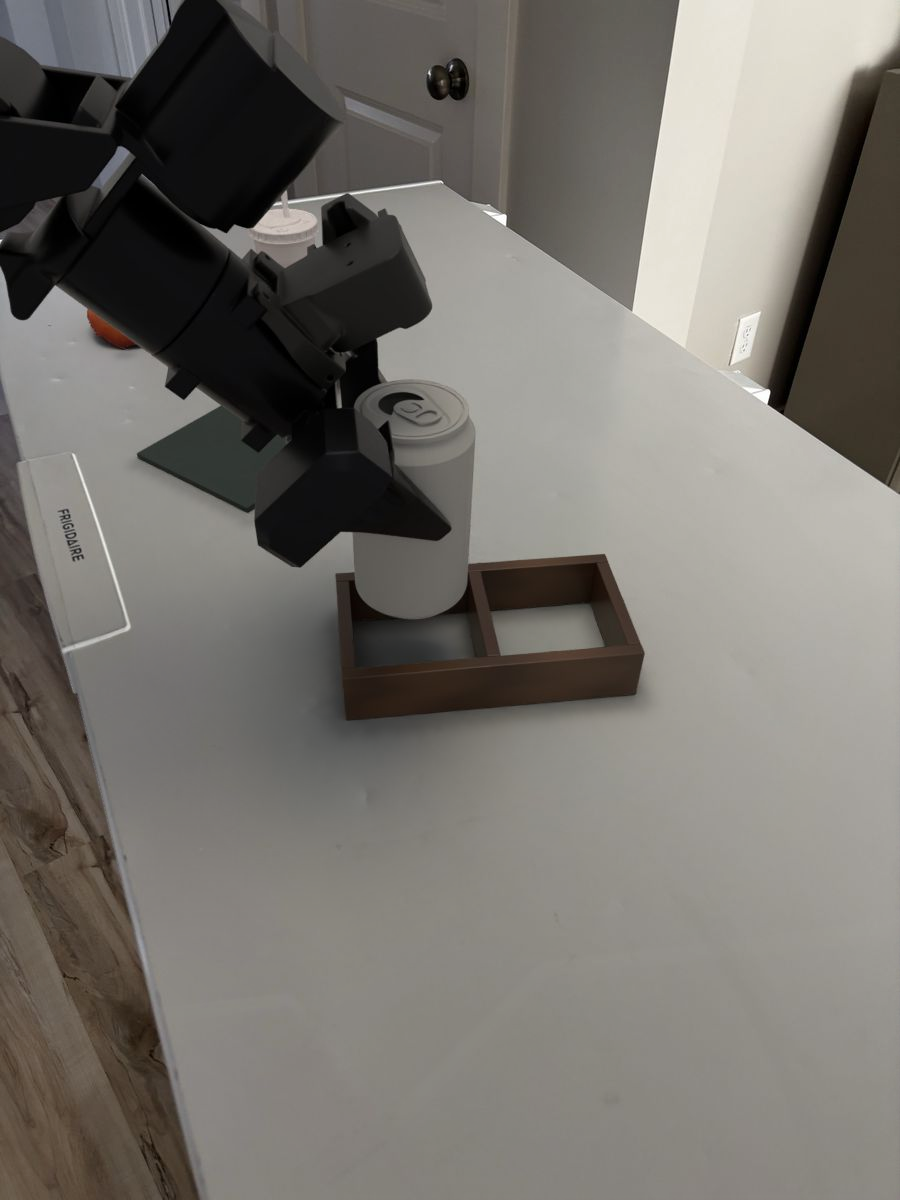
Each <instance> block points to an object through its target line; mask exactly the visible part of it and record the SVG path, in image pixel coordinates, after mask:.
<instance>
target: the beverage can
mask: <svg viewBox="0 0 900 1200" xmlns="http://www.w3.org/2000/svg"><path fill="white" fill-rule="evenodd" d="M354 408H355V409H357V410H358V411H359V412H360V413H362V414H363V415H364V416H365V417H367V418H368V419H369V420H370V421H372V422H373V424H374V425H375V427H376V428H377V429H379V428H380V427H381V426H382V425H383V424H384V423H385V422H386V421H387V420H388V421H389V422H390V426H391V432H392V439H393V445H394V452H395V464H396V465H397V466H398V467H399V468H400V470H401V471H402V472H403V473H404V474H405V475H406V476H407V477H408V478H409V479H410V480H411V481H412V482H413V483H414V484H415V485H416V486H417V487H418V488H419V489H420V490H421V491H422V492H423V493H424V494H425V495H426V497H427V498H428V499H429V500H430V501H431V502H432V503H433V504H434V505H435V506H436V507H437V508H438V509H439V511H440V512H441V513H442V514H443V515H444V516H445V517H446V519H447V520H448V521H449V522H450V523H451V527H452V529H451V531H450V532H449V533H448V534H447V535H446V536H444V537H443V538H442V539H441V540H439V541H430V540H422V539H414V538H405V537H397V536H389V535H380V534H371V533H358V532H351V534H352V550H353V551H352V552H353V567H354V568H353V570H354V571H353V572H355V585H356V589H357V591H358V593H359V595H360V597H361V598H362V599H363V601H364V602H365V603H367V604H368V605H369V606H370V607H372V608H373V609H375V610H377V611H379V612H381V613H383V614H386V615H389V616H393V617H398V618H397V619H404V620H423V619H429V618H432V617H434V616H438V615H437V614H439V613H442V612H444V611H446V610H448V609H449V608H451V607H452V606H454V605H455V604H456V603H457V602H458V601H459V600H460V599H461V597H462V596H463V594H464V592H465V590H466V587H467V578H468V564H469V560H470V559H469V557H470V556H469V555H470V542H471V541H470V540H471V526H472V525H471V523H472V507H473V506H472V505H473V488H474V471H475V470H474V469H475V453H476V452H475V451H476V435H477V431H476V426H475V424H474V422H473V419H471V417H470V406H469V403H468V401H467V399H466V398H465V397H464V396H463V395H462V394H461V393H460V392H458V391H457V390H456V389H454V388H452V387H450V386H448V385H445V384H442V383H440V382H435V381H431V380H425V379H409V378H407V379H398V380H391V381H387V382H385V383H382V384H379V385H376V386H374V387H372V388H370V389H368V390H366V391H365V392H363V393H362V394H361V395H360V396H359V397H358V398H357V400H356V402H355V404H354ZM439 615H440V614H439Z"/></svg>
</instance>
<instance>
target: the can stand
mask: <svg viewBox="0 0 900 1200" xmlns="http://www.w3.org/2000/svg"><path fill="white" fill-rule="evenodd" d="M334 576H335V577H334V578H335V591H336V604H337V605H336V607H337V608H336V609H337V623H338V640H339V657H340V670H341V671H340V672H341V673H340V674H341V685H342V696H343V706H344V707H343V708H344V718H345V720H346V721H351V720H352V721H353V720H364V719H376V718H386V717H387V718H388V717H398V716H408V715H409V716H410V715H420V714H421V715H422V714H430V713H431V714H432V713H441V712H451V711H452V712H453V711H463V710H476V709H486V708H497V707H507V706H508V707H509V706H519V705H521V706H522V705H530V704H540V703H541V704H542V703H552V702H553V703H554V702H563V701H564V702H565V701H573V700H585V699H596V698H607V697H618V696H620V697H621V696H631V695H636V694H637V691H638V687H639V682H640V677H641V673H642V669H643V664H644V659H645V655H646V653H645V650H644V647H643V645H642V642H641V640H640V638H639V635H638V633H637V630H636V628H635V626H634V623H633V620H632V617H631V615H630V612H629V610H628V607H627V605H626V603H625V600H624V598H623V596H622V592H621V591H620V588H619V585H618V583H617V580H616V578H615V575H614V573H613V570H612V568H611V566H610V563H609V560H608V557H607V555H606V554H605V553H598V554H597V553H596V554H585V555H569V556H556V557H555V556H554V557H544V558H543V557H542V558H528V559H515V560H502V561H489V562H488V561H487V562H475V563H474V562H473V563H472V562H471V563H468V578H467V587H466V590H465V592H464V594H463V596H462V597H461V599H460V600H459V601H458V602H457V603H456V604H455V605H454V606H452V607H451V608H449V609H448V610H446V611H444V612H442V613H439V614H437V615H436V616H438V615H450V614H464V613H466V616H467V621H468V625H469V630H470V635H471V640H472V645H473V651H474V655H475V657H470V658H469V657H468V658H459V659H447V660H433V661H422V662H421V661H420V662H411V663H410V662H409V663H399V664H387V665H376V666H373V665H372V666H362V667H356V655H355V642H354V632H353V622H360V621H374V620H375V621H376V620H386V619H399V618H398V617H393V616H389V615H386V614H383V613H381V612H379V611H377V610H375V609H373V608H372V607H370V606H369V605H368V604H367V603H365V602H364V601H363V599H362V598H361V597H360V595H359V593H358V591H357V589H356V585H355V572H354V571H350V572H339V573H337V572H336V573H335V575H334ZM578 604H590V607H591V609H592V612H593V615H594V617H595V621H596V623H597V625H598V629H599V631H600V634H601V637H602V639H603V643H604V645H605V646H601V647H588V648H578V649H577V648H575V649H567V650H566V649H565V650H553V651H542V652H529V653H517V654H516V653H515V654H505V655H504V654H503V655H501V651H500V646H499V643H498V639H497V638H498V637H497V635H496V630H495V625H494V622H493V621H494V620H493V617H492V614H491V613H492V612H491V611H501V610H512V609H513V610H514V609H526V608H538V607H551V606H552V607H553V606H565V605H578Z"/></svg>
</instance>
